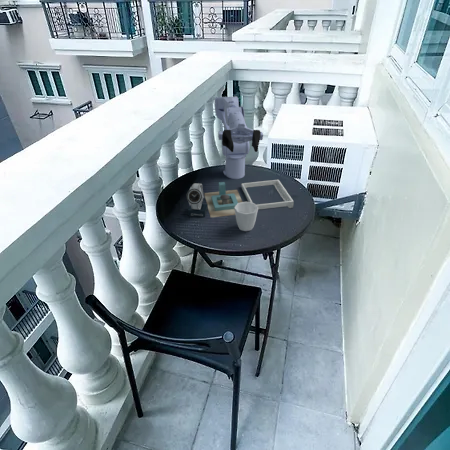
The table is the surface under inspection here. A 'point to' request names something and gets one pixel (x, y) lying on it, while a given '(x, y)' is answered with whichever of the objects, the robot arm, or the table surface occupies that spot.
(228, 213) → the board
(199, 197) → the watch
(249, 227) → the cup
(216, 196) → the teal frame with handle
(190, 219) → the table surface
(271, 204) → the tray
